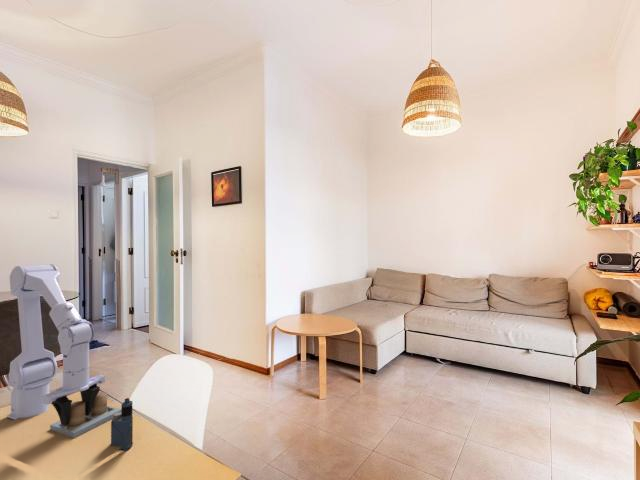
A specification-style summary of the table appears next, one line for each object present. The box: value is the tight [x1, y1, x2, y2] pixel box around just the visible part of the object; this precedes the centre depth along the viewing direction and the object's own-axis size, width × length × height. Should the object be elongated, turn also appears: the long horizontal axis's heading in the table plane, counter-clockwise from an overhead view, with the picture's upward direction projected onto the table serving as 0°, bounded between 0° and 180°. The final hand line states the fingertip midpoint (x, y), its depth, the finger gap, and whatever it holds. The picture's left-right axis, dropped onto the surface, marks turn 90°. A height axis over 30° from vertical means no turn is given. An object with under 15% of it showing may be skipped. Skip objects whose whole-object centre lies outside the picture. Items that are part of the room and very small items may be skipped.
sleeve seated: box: [90, 391, 108, 418], centre depth 95 cm, size 4×4×6 cm
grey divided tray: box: [49, 404, 121, 439], centre depth 92 cm, size 10×13×2 cm
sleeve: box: [66, 400, 86, 430], centre depth 89 cm, size 4×4×6 cm
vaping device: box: [110, 397, 134, 452], centre depth 82 cm, size 3×5×12 cm, turn 78°
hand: (75, 419), depth 89 cm, fingers open, 5 cm apart
